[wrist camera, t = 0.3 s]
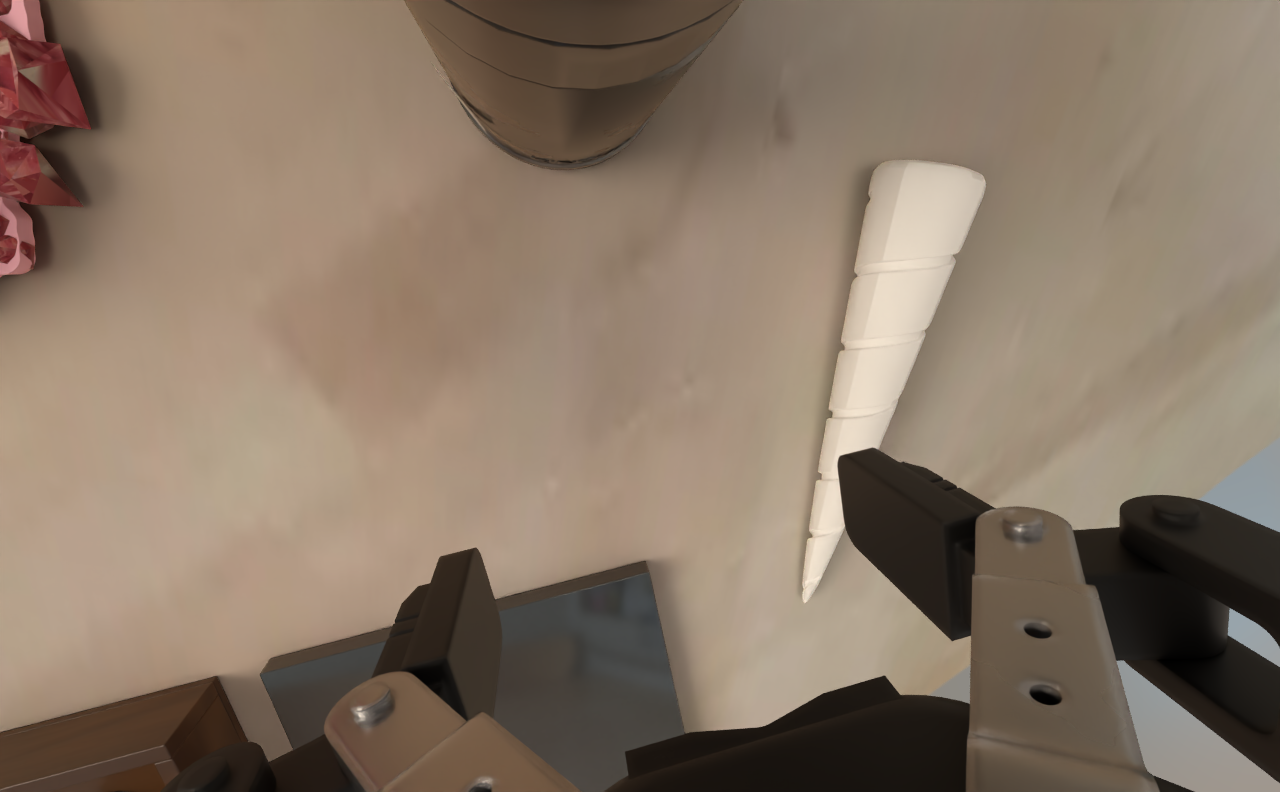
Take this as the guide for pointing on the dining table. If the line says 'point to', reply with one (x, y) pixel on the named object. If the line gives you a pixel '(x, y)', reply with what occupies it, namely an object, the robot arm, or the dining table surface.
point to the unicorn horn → (887, 319)
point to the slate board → (533, 675)
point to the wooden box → (120, 743)
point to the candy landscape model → (30, 127)
